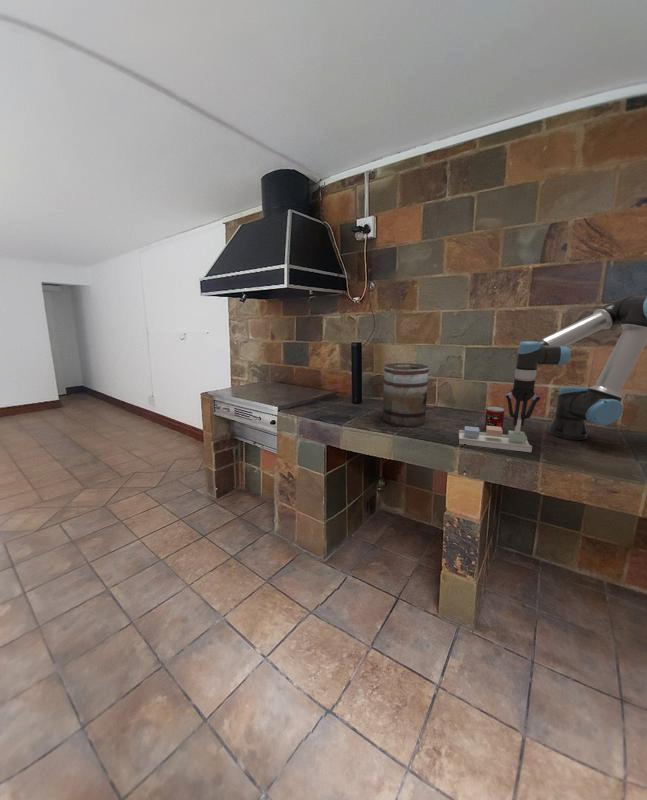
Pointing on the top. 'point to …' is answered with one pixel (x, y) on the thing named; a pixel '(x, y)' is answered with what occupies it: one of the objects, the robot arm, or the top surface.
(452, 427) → the top surface
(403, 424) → the barrel
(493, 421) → the canned food
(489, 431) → the key
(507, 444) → the keypad base
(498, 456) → the top surface
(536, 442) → the top surface
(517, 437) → the key
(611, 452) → the top surface
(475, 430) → the key
